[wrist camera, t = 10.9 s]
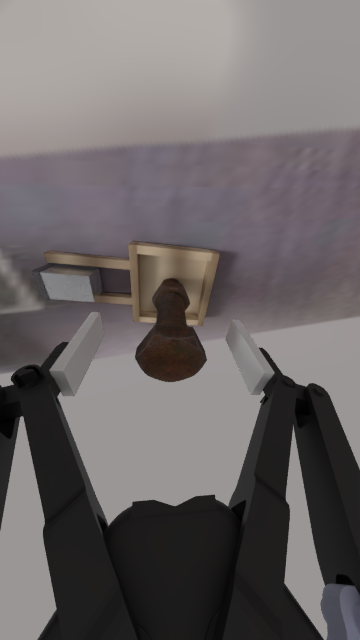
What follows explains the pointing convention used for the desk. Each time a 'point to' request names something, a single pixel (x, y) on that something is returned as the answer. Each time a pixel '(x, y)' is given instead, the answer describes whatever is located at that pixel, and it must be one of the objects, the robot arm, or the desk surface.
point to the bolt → (171, 338)
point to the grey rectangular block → (68, 282)
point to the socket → (155, 276)
